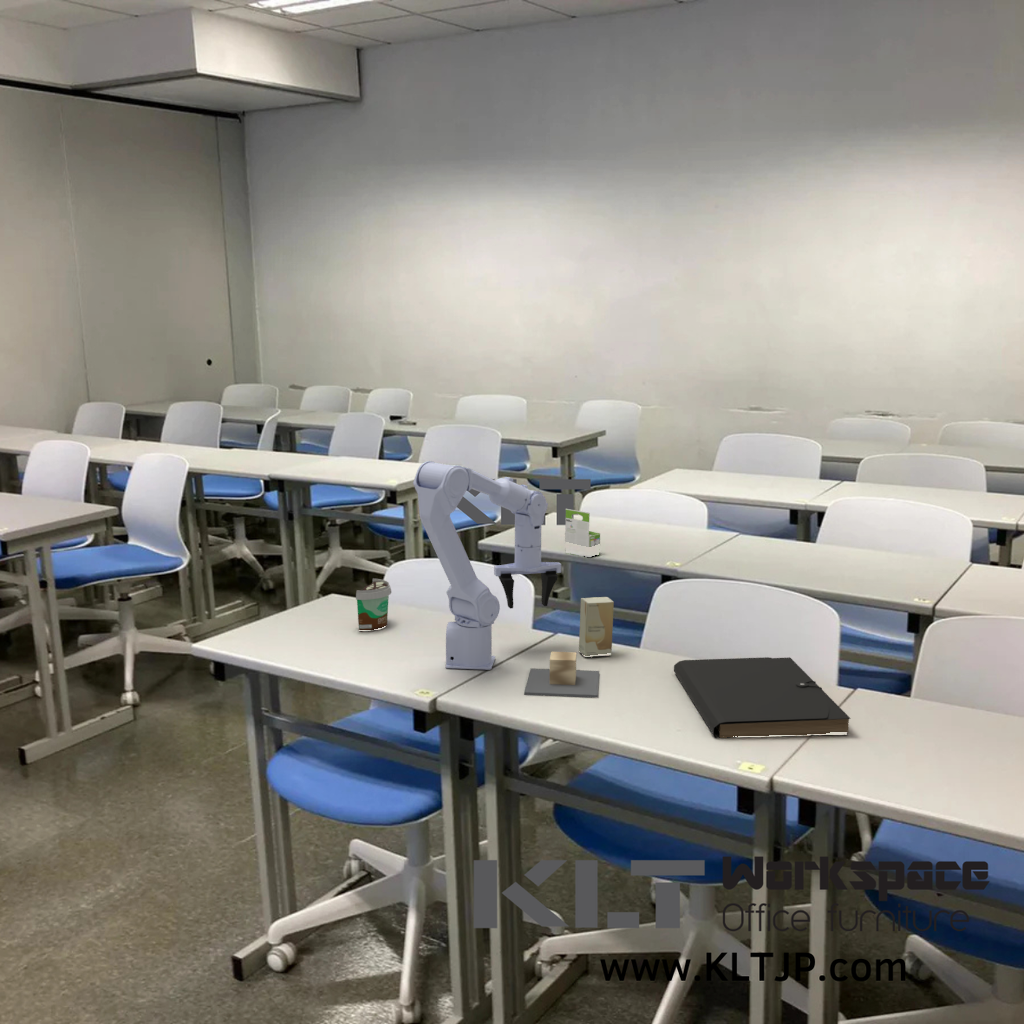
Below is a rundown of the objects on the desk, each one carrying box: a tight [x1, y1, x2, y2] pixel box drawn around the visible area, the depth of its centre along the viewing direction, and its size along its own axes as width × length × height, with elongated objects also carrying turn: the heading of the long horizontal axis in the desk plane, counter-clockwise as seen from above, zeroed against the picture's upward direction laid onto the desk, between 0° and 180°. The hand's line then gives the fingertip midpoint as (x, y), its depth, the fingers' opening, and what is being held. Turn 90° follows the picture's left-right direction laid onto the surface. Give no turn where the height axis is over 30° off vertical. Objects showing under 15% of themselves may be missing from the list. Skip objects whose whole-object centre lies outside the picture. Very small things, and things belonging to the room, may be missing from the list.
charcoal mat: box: [523, 667, 600, 698], centre depth 205 cm, size 14×14×1 cm
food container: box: [355, 578, 392, 631], centre depth 242 cm, size 12×6×10 cm, turn 168°
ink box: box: [564, 508, 601, 547], centre depth 318 cm, size 10×5×14 cm, turn 43°
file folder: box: [673, 656, 851, 739], centre depth 196 cm, size 33×4×24 cm
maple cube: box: [549, 651, 577, 685], centre depth 206 cm, size 5×5×5 cm
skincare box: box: [578, 596, 615, 656], centre depth 222 cm, size 6×4×12 cm
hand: (527, 606), depth 226 cm, fingers open, 7 cm apart
